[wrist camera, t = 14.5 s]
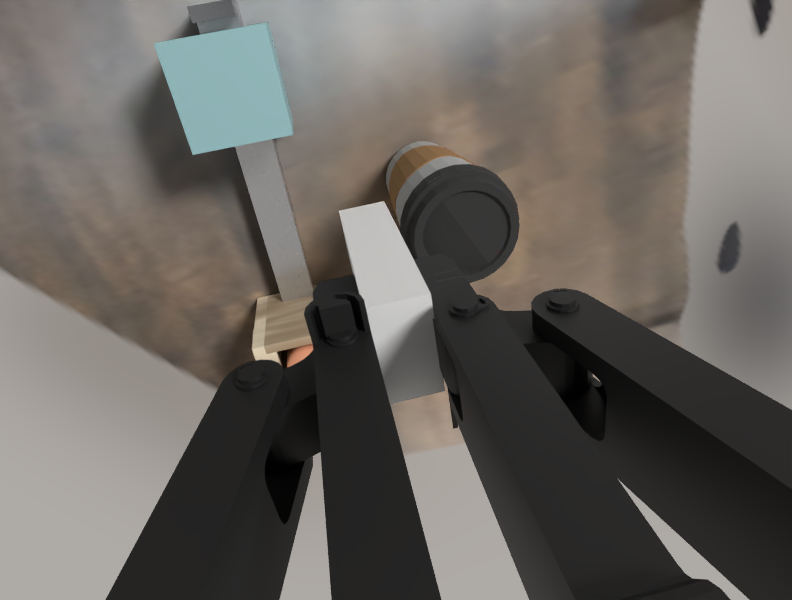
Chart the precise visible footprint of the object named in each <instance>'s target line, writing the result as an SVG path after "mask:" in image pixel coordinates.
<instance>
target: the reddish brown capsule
mask: <svg viewBox="0 0 792 600" xmlns="http://www.w3.org/2000/svg"><path fill="white" fill-rule="evenodd" d="M312 351H313V344H308V345H304V346H300V347H295V348H291V349H288V351H287V367H290V366H292V365H294V364H296V363H298V362H300V361H301V360H303V359H304V358H305V357H307V356H308V355H309V354H310V353H311V352H312Z"/></svg>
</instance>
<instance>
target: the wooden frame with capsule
mask: <svg viewBox="0 0 792 600" xmlns="http://www.w3.org/2000/svg"><path fill="white" fill-rule="evenodd" d="M316 286H317V285H314V289H315V288H316ZM311 301H313V295H312V296H308V297H303V298H299V299H294V300H290V301H285V302H283V301H282V298H281V294H280V293H278V294H273V295H269V296H265V297H260V298H258V299H257V308H256V316H255V325H254V330H253V343H252V351H253V354H254V357H255V359H256V360H273V361H276V362H278V363H280V365H281V366H282V368H283V369H285V368H287V351H288V349H291V348H295V347H300V346H304V345H308V344H312V341H311V337H310V334H309V330H308V327H307V323H306V320H305V317H304V311H305V308H306V306H307V305H308V304H309V303H310V302H311Z"/></svg>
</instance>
